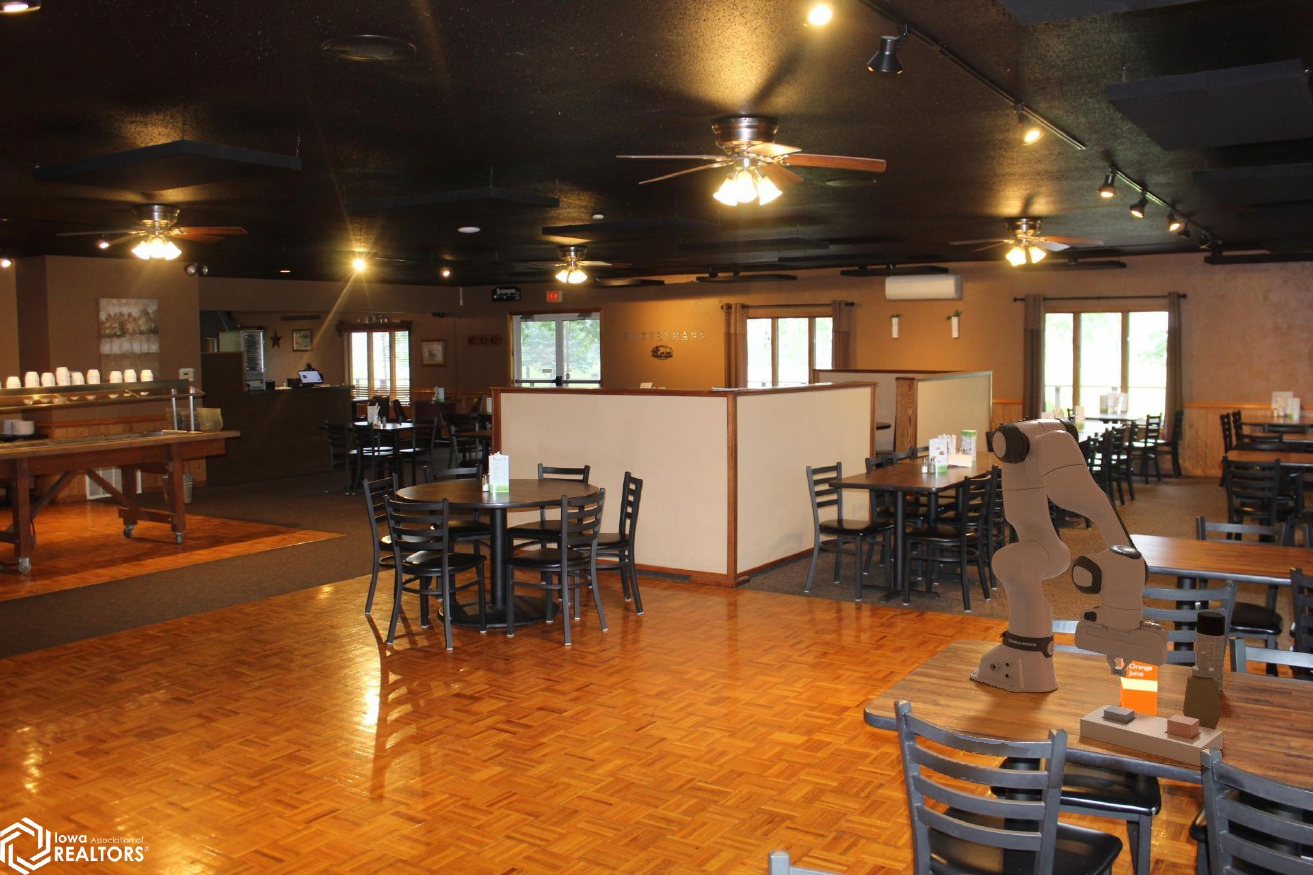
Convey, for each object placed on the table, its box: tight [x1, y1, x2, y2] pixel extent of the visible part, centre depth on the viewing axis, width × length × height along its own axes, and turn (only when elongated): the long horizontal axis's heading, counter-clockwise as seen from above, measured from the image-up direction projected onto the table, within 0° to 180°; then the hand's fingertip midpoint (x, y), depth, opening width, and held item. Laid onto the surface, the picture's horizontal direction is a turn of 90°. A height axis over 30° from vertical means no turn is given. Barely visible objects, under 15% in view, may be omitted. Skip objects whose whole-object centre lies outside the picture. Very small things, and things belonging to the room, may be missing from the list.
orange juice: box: [1119, 658, 1159, 716], centre depth 259 cm, size 8×9×20 cm
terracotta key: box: [1166, 713, 1199, 740], centre depth 231 cm, size 5×5×4 cm
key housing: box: [1079, 704, 1224, 767], centre depth 236 cm, size 26×14×4 cm, turn 44°
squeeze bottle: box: [1182, 652, 1222, 730], centre depth 244 cm, size 8×8×18 cm
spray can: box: [1194, 611, 1226, 692], centre depth 274 cm, size 7×7×20 cm
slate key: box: [1104, 704, 1135, 724], centre depth 241 cm, size 5×5×4 cm
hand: (1118, 675), depth 241 cm, fingers closed
